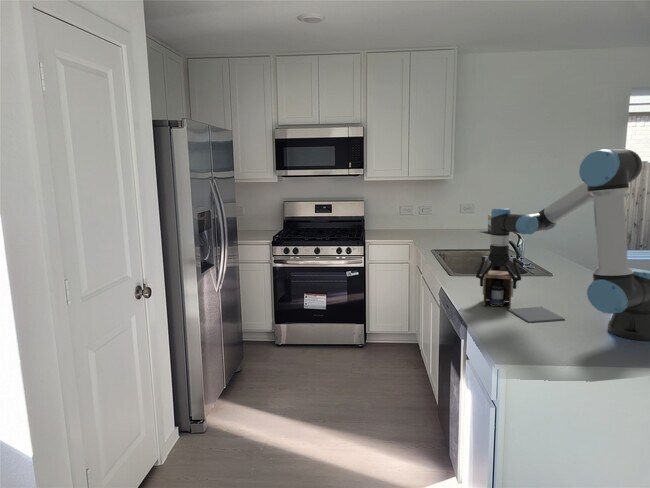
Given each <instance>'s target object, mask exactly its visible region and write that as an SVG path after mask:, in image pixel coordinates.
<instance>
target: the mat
mask: <svg viewBox="0 0 650 488" xmlns="http://www.w3.org/2000/svg"><path fill="white" fill-rule="evenodd" d="M507 311H509V313H512V314H513V315H515V316H517V317H518V318H520V319H522V320H523V321H525V322H526V323H529V324H532V323H541V322H543V323H544V322H557V321H558V322H559V321H565V320H566V318H565V317H562V316H560V315H559V314H557V313H555V312H553V311H551V310H550V309H547V308H545V307H543V306H532V307H531V306H530V307H519V308H518V307H516V308H508V309H507Z"/></svg>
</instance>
